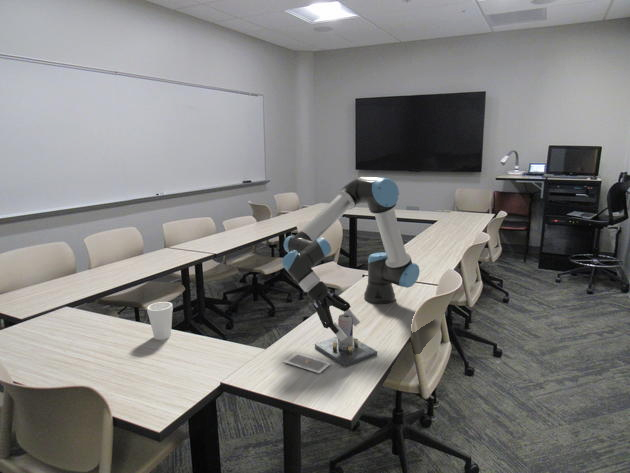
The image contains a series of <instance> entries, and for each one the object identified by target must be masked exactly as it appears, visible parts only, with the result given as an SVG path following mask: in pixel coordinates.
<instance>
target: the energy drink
mask: <svg viewBox="0 0 630 473" xmlns="http://www.w3.org/2000/svg"><path fill="white" fill-rule="evenodd" d="M337 319H338V320H337V321H338V322H337V325H338V326H339V327H340V328H341V330H342V331H343V332H344V333H345V334H346V336H347V338H345V339H344V340H343V341H342V342H341V340H340V339H339V338H338V347H339V348H340V349H341V350H348V346H349V345H351V346H352V347H353V338H354V336H353V334H354V333H353V332H354V329H353V328H354V325H353V318H352V316H351V315H348V314H344V313H343V314H339V315H338V318H337Z"/></svg>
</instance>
